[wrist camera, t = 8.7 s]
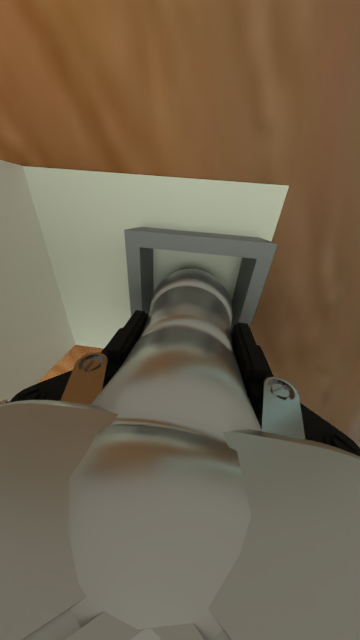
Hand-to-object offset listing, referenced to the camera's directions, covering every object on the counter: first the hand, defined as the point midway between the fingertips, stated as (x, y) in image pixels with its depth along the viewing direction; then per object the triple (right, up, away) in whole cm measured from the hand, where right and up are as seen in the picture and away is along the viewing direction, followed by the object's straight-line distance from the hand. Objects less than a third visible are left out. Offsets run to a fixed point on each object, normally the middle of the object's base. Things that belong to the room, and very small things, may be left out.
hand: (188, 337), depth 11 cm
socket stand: (-4, +5, +8) cm, 10 cm away
